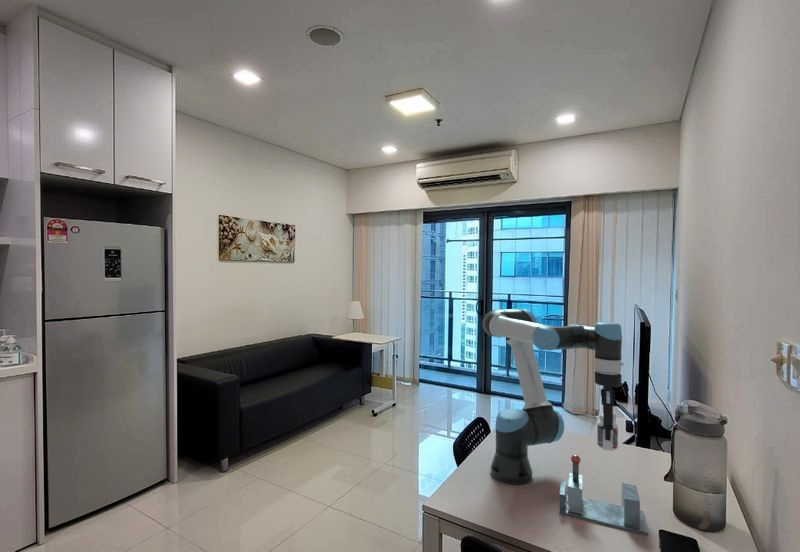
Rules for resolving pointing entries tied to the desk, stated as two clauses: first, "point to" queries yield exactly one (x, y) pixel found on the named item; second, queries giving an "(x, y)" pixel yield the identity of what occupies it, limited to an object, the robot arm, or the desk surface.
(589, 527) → the desk surface
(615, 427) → the pill bottle
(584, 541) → the desk surface
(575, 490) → the free jaw
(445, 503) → the desk surface
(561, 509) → the vise body
